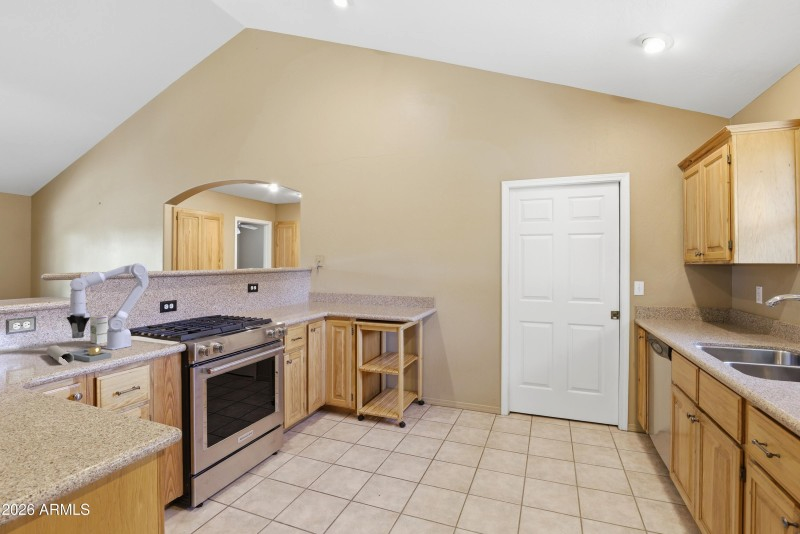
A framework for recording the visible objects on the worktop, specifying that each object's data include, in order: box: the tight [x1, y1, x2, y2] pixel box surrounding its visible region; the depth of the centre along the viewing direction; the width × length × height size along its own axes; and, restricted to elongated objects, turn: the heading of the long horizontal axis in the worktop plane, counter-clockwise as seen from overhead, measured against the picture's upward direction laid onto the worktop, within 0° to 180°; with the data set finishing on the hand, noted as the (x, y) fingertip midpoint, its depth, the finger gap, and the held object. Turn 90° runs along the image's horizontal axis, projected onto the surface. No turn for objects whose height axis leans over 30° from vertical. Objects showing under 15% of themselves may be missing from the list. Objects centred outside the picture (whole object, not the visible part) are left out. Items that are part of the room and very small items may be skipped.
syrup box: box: [89, 314, 109, 345], centre depth 208 cm, size 6×6×14 cm
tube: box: [46, 345, 75, 365], centre depth 176 cm, size 5×5×25 cm
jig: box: [69, 348, 113, 363], centre depth 180 cm, size 9×19×2 cm, turn 67°
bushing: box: [71, 322, 85, 339], centre depth 189 cm, size 4×4×7 cm
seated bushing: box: [87, 346, 102, 356], centre depth 178 cm, size 4×4×5 cm
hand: (78, 331), depth 189 cm, fingers closed on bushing, 4 cm apart
